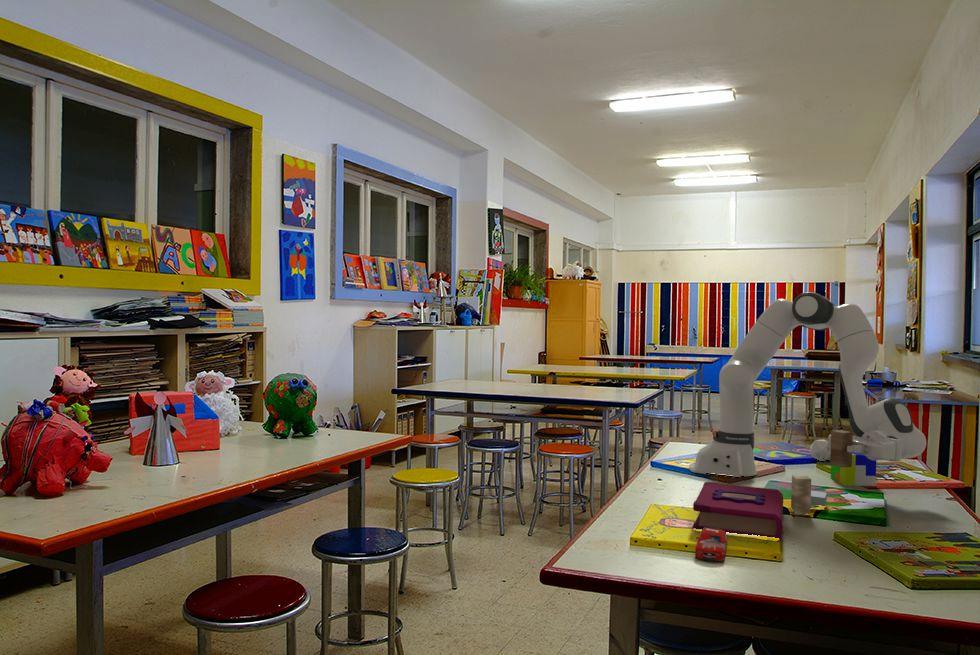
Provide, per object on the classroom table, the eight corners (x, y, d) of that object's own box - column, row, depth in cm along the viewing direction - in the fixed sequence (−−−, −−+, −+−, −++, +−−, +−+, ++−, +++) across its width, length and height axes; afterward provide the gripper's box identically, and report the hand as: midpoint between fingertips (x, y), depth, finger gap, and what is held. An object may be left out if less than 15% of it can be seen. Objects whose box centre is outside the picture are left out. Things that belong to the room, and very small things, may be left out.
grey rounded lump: (807, 462, 274) (822, 445, 269) (802, 448, 282) (817, 430, 276) (827, 470, 275) (842, 453, 270) (821, 455, 282) (836, 438, 277)
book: (782, 515, 200) (783, 487, 200) (781, 544, 175) (782, 513, 174) (703, 505, 208) (704, 479, 208) (691, 532, 183) (692, 502, 182)
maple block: (794, 514, 199) (796, 478, 199) (790, 510, 203) (791, 475, 203) (810, 515, 199) (811, 479, 199) (805, 511, 203) (806, 476, 203)
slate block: (797, 508, 207) (797, 494, 207) (800, 502, 213) (800, 489, 213) (824, 512, 204) (824, 497, 204) (826, 506, 210) (826, 492, 210)
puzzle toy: (875, 486, 236) (876, 455, 235) (844, 485, 236) (845, 454, 236) (860, 479, 246) (861, 449, 245) (830, 478, 246) (831, 448, 246)
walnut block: (840, 467, 209) (841, 432, 208) (830, 464, 212) (831, 430, 212) (851, 466, 210) (852, 432, 210) (841, 464, 214) (842, 430, 213)
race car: (724, 567, 158) (724, 544, 158) (692, 562, 161) (693, 540, 160) (729, 544, 173) (730, 524, 173) (700, 540, 176) (701, 520, 176)
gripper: (849, 428, 225) (813, 430, 220) (906, 440, 205) (867, 442, 201) (848, 449, 225) (812, 450, 221) (905, 462, 205) (866, 465, 201)
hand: (838, 446), depth 211 cm, fingers closed on walnut block, 4 cm apart
